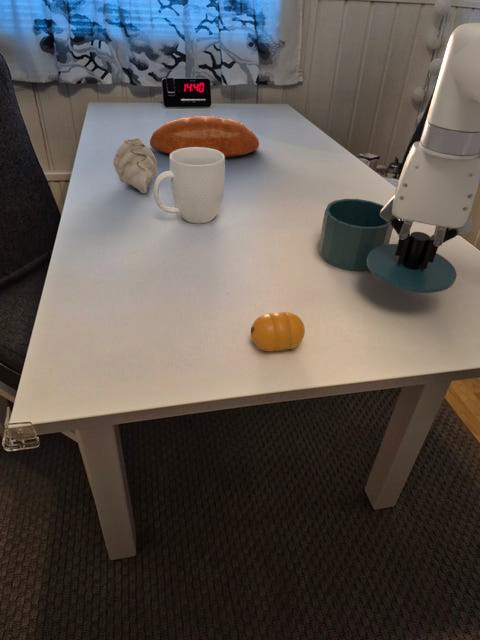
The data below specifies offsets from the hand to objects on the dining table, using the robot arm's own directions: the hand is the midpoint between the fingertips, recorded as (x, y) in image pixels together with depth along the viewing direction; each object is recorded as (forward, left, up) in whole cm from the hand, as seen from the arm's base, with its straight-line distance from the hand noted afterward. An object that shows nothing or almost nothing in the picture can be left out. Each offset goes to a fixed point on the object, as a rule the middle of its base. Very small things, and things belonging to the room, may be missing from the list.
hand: (412, 261), depth 68 cm
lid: (0, 0, -1) cm, 1 cm away
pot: (+10, -13, -8) cm, 18 cm away
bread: (+60, -58, -8) cm, 84 cm away
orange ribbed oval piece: (+16, +18, -8) cm, 25 cm away
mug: (+44, -15, -8) cm, 47 cm away
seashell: (+64, -26, -8) cm, 69 cm away
